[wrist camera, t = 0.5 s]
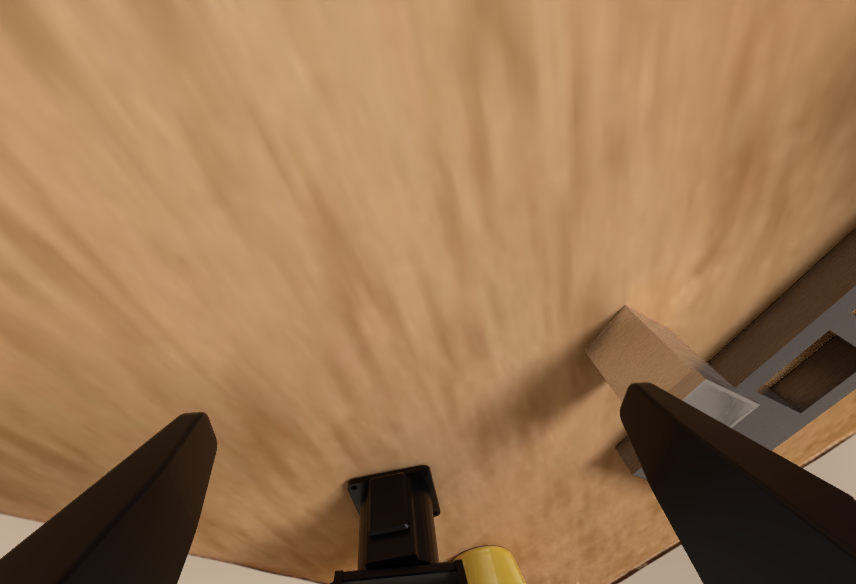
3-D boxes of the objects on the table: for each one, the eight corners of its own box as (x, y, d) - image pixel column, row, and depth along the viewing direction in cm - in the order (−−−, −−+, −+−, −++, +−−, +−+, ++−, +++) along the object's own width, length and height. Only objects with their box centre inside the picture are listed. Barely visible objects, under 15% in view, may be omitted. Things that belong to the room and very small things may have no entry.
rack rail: (686, 471, 35) (706, 498, 33) (615, 447, 32) (632, 474, 30) (996, 226, 24) (1055, 242, 22) (933, 157, 22) (994, 167, 19)
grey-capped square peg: (626, 371, 28) (694, 457, 22) (580, 351, 26) (640, 437, 20) (671, 325, 26) (760, 404, 20) (625, 301, 24) (705, 379, 18)
